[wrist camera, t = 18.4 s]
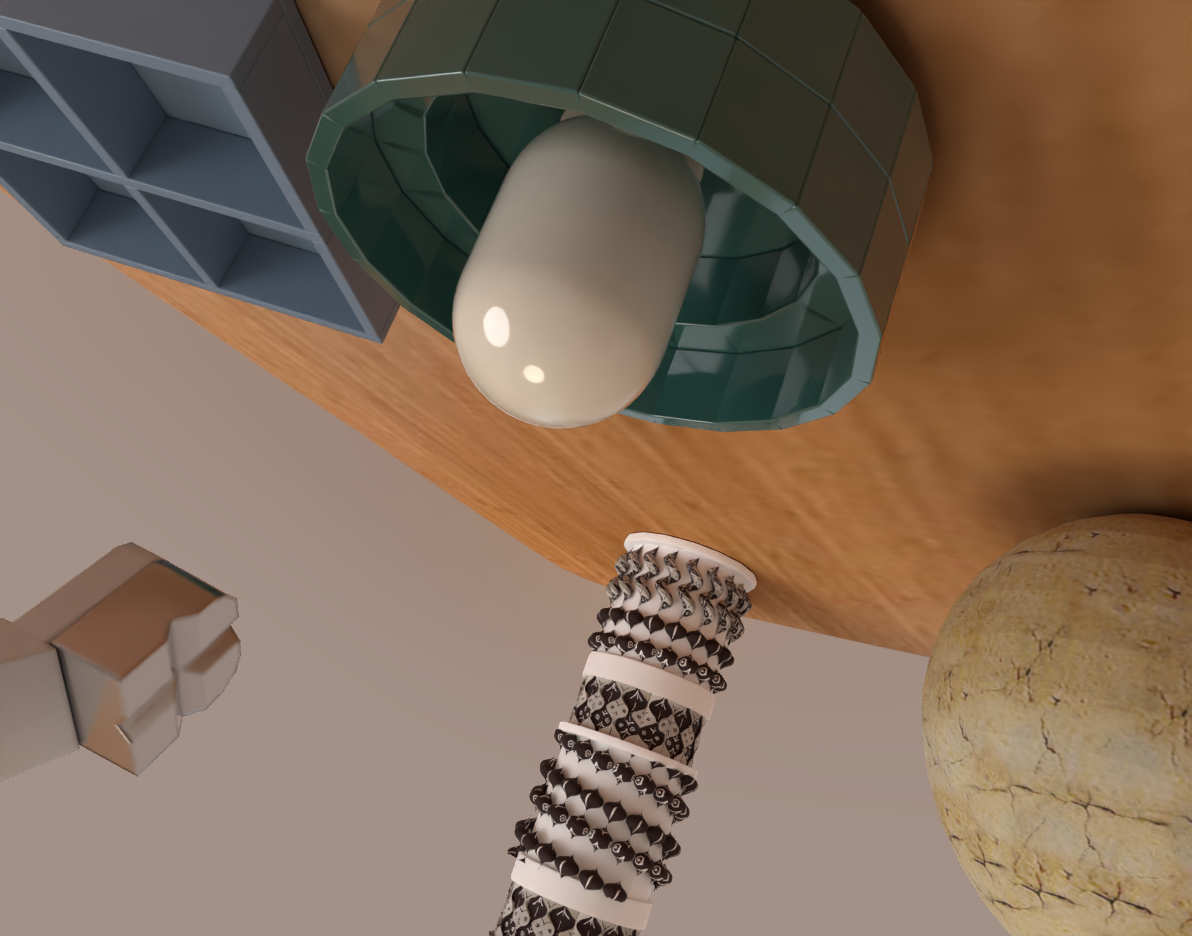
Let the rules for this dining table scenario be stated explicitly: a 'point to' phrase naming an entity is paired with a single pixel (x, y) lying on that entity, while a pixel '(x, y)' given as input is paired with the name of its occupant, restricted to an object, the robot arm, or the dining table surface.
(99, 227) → the divided tray
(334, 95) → the bowl
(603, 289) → the cream capsule
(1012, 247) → the dining table surface
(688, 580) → the decorative candle
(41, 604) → the robot arm
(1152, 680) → the fossilized egg
